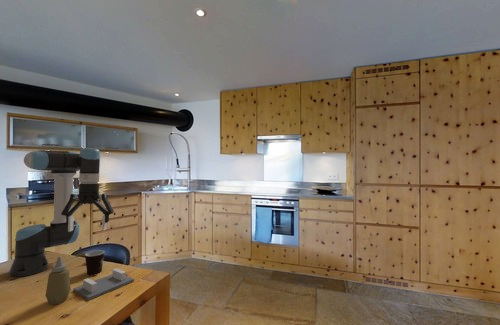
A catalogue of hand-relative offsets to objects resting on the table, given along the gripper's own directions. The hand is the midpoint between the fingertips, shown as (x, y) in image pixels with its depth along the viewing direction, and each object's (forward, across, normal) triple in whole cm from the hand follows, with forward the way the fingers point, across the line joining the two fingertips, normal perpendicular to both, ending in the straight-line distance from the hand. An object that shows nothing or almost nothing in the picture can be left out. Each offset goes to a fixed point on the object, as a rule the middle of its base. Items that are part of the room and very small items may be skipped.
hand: (87, 230), depth 106 cm
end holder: (+27, +6, +4) cm, 28 cm away
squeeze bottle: (+27, -7, -7) cm, 29 cm away
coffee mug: (+27, -4, +22) cm, 35 cm away
